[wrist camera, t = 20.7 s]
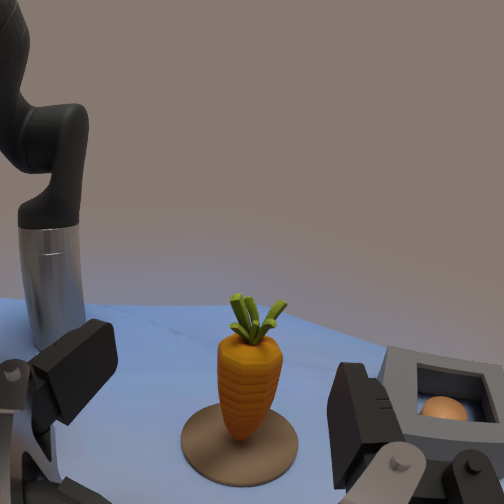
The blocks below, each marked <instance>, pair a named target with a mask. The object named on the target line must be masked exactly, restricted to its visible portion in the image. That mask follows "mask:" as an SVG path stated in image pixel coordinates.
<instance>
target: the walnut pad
mask: <svg viewBox="0 0 504 504" xmlns="http://www.w3.org/2000/svg"><path fill="white" fill-rule="evenodd" d="M181 443H182V450H183V453H184V456H185V458H186V460H187V461H188V463H189V464H190V465H191V466H192V467H193V468H194V470H196V471H197V472H198V473H199V474H201V475H202V476H204V477H206V478H207V479H209V480H212V481H214V482H216V483H220V484H223V485H227V486H234V487H251V486H258V485H262V484H266V483H268V482H271V481H273V480H275V479H277V478H278V477H280V476H281V475H283V474H284V473H285V472H286V471H287V470H288V469H289V468H290V466H291V465H292V464H293V462H294V459H295V457H296V454H297V450H298V438H297V434H296V432H295V430H294V428H293V427H292V425H291V424H290V423H289V422H288V421H287V420H286V419H285V418H284V417H283V416H281V415H280V414H278V413H277V412H275V411H273V410H271V409H269V411H268V413H267V415H266V417H265V419H264V421H263V422H262V424H261V425H260V426H259V427H258V428H257V430H256V431H255V432H254V433H252V434H251V435H250V436H249V437H248V438H247V439H246V440H244V441H238V440H236V439H235V438H234V437H233V436H232V435H231V434H230V433H229V431H228V429H227V427H226V426H225V423H224V419H223V415H222V411H221V405H220V403H219V404H214V405H211V406H208V407H206V408H203V409H201V410H200V411H198V412H196V413H195V414H194V415H192V416H191V417H190V418H189V419H188V421H187V422H186V423H185V425H184V427H183V430H182V435H181Z"/></svg>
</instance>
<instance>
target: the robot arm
mask: <svg viewBox="0 0 504 504" xmlns="http://www.w3.org/2000/svg"><path fill="white" fill-rule="evenodd" d="M29 47H30V36H29V31H28V28H27V25H26V22H25V20H24V18H23V15H22V13H21V10H20V7H19V5H18V2H17V0H0V151H1V152H2V153H3V155H4V156H5V157H6V158H7V159H8V160H9V161H10V162H11V163H12V164H13V165H14V166H15V167H16V168H17V169H19V170H20V171H22V172H24V173H28V174H42V173H52V175H51V179H50V183H49V185H48V187H47V188H46V189H45V190H44V191H43V192H42V193H41V194H39V195H38V196H36V197H35V198H33V199H31V200H29V201H27V202H25V203H23V204H21V205H20V207H19V209H18V234H19V235H18V236H19V250H20V262H21V271H22V279H23V286H24V293H25V299H26V305H27V310H28V315H29V321H30V325H31V330H32V334H33V338H34V342H35V345H36V347H37V348H38V349H39V350H40V351H41V352H40V353H39V354H38V355H36V356H35V357H34V358H32V359H31V360H30V361H29V362H27V363H26V362H25V361H23V360H19V359H11V360H7V361H5V362H3V363H1V364H0V504H112V503H111V502H109V501H108V500H107V499H105V498H104V497H103V496H101V495H100V494H98V493H96V492H94V491H92V490H90V489H88V488H86V487H84V486H83V485H81V484H79V483H77V482H75V481H73V480H72V479H70V478H68V477H65V478H64V480H63V481H62V479H61V477H60V475H59V472H58V467H57V456H56V442H55V428H54V425H53V422H54V421H55V420H58V421H60V422H62V423H63V424H65V425H67V426H68V425H69V424H70V423H71V422H72V421H73V420H74V418H75V417H76V416H77V415H78V414H79V413H80V411H81V410H82V409H83V408H84V407H85V406H86V405H87V403H88V402H89V401H90V400H91V399H92V398H93V397H94V395H95V394H96V393H97V392H98V391H99V390H100V389H101V387H102V386H103V385H104V384H105V383H106V382H107V381H108V380H109V378H110V377H111V376H112V375H113V374H114V373H115V371H116V368H117V364H118V356H117V350H116V343H115V336H114V329H113V326H112V324H110V323H108V322H104V321H101V320H97V319H91V320H89V321H88V322H86V316H85V308H84V299H83V290H82V278H81V265H80V245H79V210H80V202H81V189H82V177H83V168H84V160H85V155H86V148H87V141H88V131H89V121H88V120H89V119H88V114H87V111H86V109H85V108H84V107H83V106H82V105H80V104H61V105H52V106H45V107H34V106H31V105H30V104H29V103H28V102H27V101H26V100H25V99H24V98H23V96H22V94H21V93H20V86H21V82H22V79H23V75H24V72H25V68H26V64H27V59H28V54H29ZM389 399H390V398H389V396H388V393H387V391H386V388H385V387H384V386H383V385H382V384H381V383H380V382H379V381H378V380H377V379H376V378H368V375H367V372H366V370H365V367H364V364H362V363H346V362H341V363H340V364H339V366H338V369H337V372H336V376H335V379H334V382H333V385H332V388H331V392H330V395H329V398H328V403H327V419H328V428H329V438H330V448H331V458H332V470H333V483H334V489H346V495H345V496H344V498H343V499H342V500H341V501H340V502H339V503H338V504H504V492H503V490H502V487H501V485H500V482H499V480H498V477H497V475H496V473H495V470H494V468H493V466H492V463H491V461H490V460H489V458H488V457H487V456H486V455H485V454H484V453H482V452H480V451H477V450H473V449H468V450H464V451H462V452H460V453H458V454H457V455H456V457H455V458H454V459H453V460H452V462H449V461H437V460H429V459H425V456H424V454H423V453H422V451H421V450H420V449H419V448H417V447H416V446H414V445H412V444H410V443H406V441H405V438H404V436H403V433H402V430H401V427H400V425H399V422H398V419H397V417H396V414H395V411H394V410H393V406H392V404H391V401H389Z"/></svg>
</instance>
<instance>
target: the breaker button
mask: <svg viewBox="0 0 504 504" xmlns="http://www.w3.org/2000/svg"><path fill="white" fill-rule="evenodd" d="M419 415H425V416H431V417H438V418H446V419H454V420H463V421H467V412H466V409H465V408H464V407H463V406H462V405H461V404H460V403H459V402H458V401H456V400H454V399H451V398H448V397H443V396H437V397H432V398H430V399H428V400H427V401H426V402H425V404H424V406H423V408H422V410H421V412H420V414H419Z"/></svg>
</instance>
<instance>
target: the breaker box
mask: <svg viewBox="0 0 504 504" xmlns="http://www.w3.org/2000/svg"><path fill="white" fill-rule="evenodd" d="M377 380H378V381H379V382H380V383H381V384H382V385H383V386H384V387H385V388H386V391H387V393H388V396H389V398H390V399H389V401H391V404H392V406H393V410H394V411H395V414H396V417H397V419H398V422H399V425H400V427H401V430H402V433H403V436H404V438H405V441H406V443H410V444H412V445H414V446H416V447H417V448H419V449H420V450H421V451H422V453H423V454H424V456H425V459H429V460H437V461H449V462H452V460H453V459H454V458H455V457H456V455H457V454H458V453H460V452H462V451H464V450H468V449H473V450H477V451H480V452H482V453H484V454H485V455H486V456H487V457H488V458H489V460H490V461H491V463H492V466H493V468H494V470H495V473H496V475H497V477H498V479H502V478H503V477H504V371H503V369H502V367H501V365H494V364H487V363H480V362H473V361H466V360H461V359H454V358H449V357H443V356H438V355H431V354H427V353H421V352H416V351H411V350H406V349H401V348H396V347H392V346H388V348H387V351H386V354H385V357H384V360H383V363H382V366H381V369H380V372H379V375H378V377H377ZM417 392H421V393H427V394H433V395H439V396H446V397H453V398H460V399H468V400H477V401H482V405H483V409H484V413H485V417H486V421H487V423H485V422H473V421H463V420H454V419H446V418H438V417H431V416H425V415H419V414H417Z"/></svg>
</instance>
